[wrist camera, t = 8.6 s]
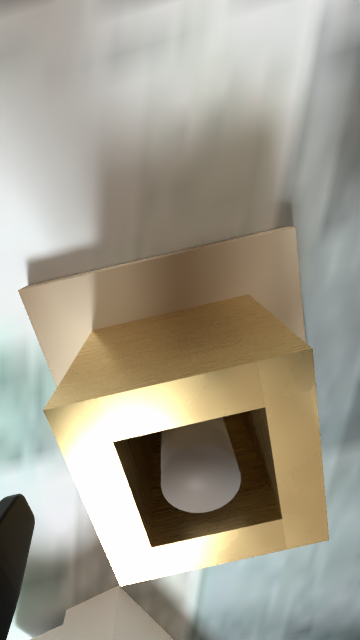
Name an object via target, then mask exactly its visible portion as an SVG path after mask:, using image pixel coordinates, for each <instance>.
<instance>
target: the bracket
mask: <svg viewBox="0 0 360 640" xmlns="http://www.w3.org/2000/svg"><path fill="white" fill-rule="evenodd" d="M31 640H174V639H173V638H172V637H171V636H170V635H169V634H168V633H167V632H166V631H165V630H164V629H163V628H161V627H160V626H159V625H158V624H157V623H156V622H155V621H154V620H153V619H152V618H151V617H150V616H149V615H148V614H147V613H146V612H145V611H144V610H143V609H142V608H141V607H140V606H139V605H138V604H137V603H136V602H135V601H134V600H133V599H132V598H131V597H130V596H129V595H128V594H127V593H126V592H125V591H124V590H123V589H122V588H121V587H120V586H119V585H118V586H116V587H114V588H112V589H110V590H108V591H105V592H103V593H101V594H99V595H97V596H95V597H93V598H90V599H88V600H86V601H84V602H82V603H80V604H78V605H76V606H73V607H71V608H69V609H67V610H66V614H65V618H64V623H63V625H61V626H59V627H57V628H54V629H52V630H50V631H48V632H46V633H44V634H42V635H39V636H37V637H35V638H33V639H31Z"/></svg>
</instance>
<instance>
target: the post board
mask: <svg viewBox="0 0 360 640" xmlns="http://www.w3.org/2000/svg"><path fill="white" fill-rule="evenodd" d="M18 291H19V294H20V296H21V299H22V301H23V304H24V306H25V309H26V311H27V314H28V316H29V319H30V321H31V324H32V326H33V329H34V331H35V334H36V336H37V339H38V341H39V344H40V346H41V349H42V351H43V354H44V356H45V359H46V361H47V363H48V366H49V368H50V371H51V373H52V376H53V378H54V381H55V383H56V386H57V387H58V385H59V384H60V382H61V380H62V379H63V377H64V376H65V374H66V372H67V371H68V369H69V367H70V366H71V364H72V362H73V361H74V359H75V358H76V356H77V354H78V353H79V351H80V349H81V348H82V346H83V344H84V343H85V341H86V340H87V338H88V336H89V335H90V333H91V331H92V330H96V329H100V328H105V327H109V326H113V325H118V324H122V323H126V322H131V321H135V320H139V319H144V318H148V317H152V316H157V315H161V314H165V313H170V312H174V311H178V310H182V309H187V308H191V307H195V306H200V305H204V304H208V303H213V302H217V301H221V300H226V299H230V298H234V297H239V296H243V295H247V294H249V295H250V296H252V297H253V298H254V299H255V300H256V301H257V302H259V303H260V304H261V305H262V306H263V307H264V308H266V309H267V310H268V311H269V312H270V313H271V314H273V315H274V316H275V317H276V318H277V319H278V320H280V321H281V322H282V323H283V324H284V325H285V326H287V327H288V328H289V329H290V330H291V331H292V332H294V333H295V334H296V335H297V336H298V337H299V338H301V339H302V340H303V341H304V342H305V343H306V341H305V330H304V318H303V307H302V295H301V284H300V272H299V261H298V250H297V238H296V227H287V226H286V227H282V228H278V229H273V230H269V231H264V232H260V233H256V234H251V235H247V236H243V237H238V238H234V239H229V240H225V241H221V242H216V243H212V244H207V245H203V246H199V247H194V248H190V249H186V250H181V251H177V252H172V253H168V254H164V255H159V256H155V257H151V258H146V259H142V260H137V261H133V262H129V263H124V264H120V265H115V266H111V267H107V268H102V269H98V270H94V271H89V272H85V273H80V274H76V275H72V276H67V277H63V278H58V279H54V280H50V281H45V282H41V283H37V284H32V285H28V286H26V287H24V288H22V289H20V290H18ZM240 483H241V474H240V470H239V467H238V464H237V461H236V458H235V454H234V451H233V448H232V445H231V442H230V439H229V435H228V432H227V429H226V426H225V423H224V419H223V417H220V418H215V419H211V420H206V421H202V422H198V423H193V424H189V425H184V426H180V427H176V428H171V429H167V430H162V431H161V489H162V493H163V495H164V497H165V498H166V500H167V501H168V502H169V503H170V504H171V505H173V506H174V507H176V508H178V509H180V510H183V511H186V512H191V513H204V512H209V511H213V510H216V509H218V508H220V507H222V506H224V505H226V504H227V503H228V502H229V501H231V500H232V499H233V498H234V496H235V495H236V493H237V492H238V490H239V487H240Z"/></svg>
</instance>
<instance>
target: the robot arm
mask: <svg viewBox="0 0 360 640" xmlns="http://www.w3.org/2000/svg"><path fill="white" fill-rule="evenodd" d="M34 525H35V519H34V515H33V513H32V511H31V509H30V507H29V505H28V503H27V501H26V499H25V497H24V496H23V495H22V494H16V495H11V496H7V497H5V498H3V499H2V500H1V501H0V640H6V638H7V635H8V632H9V629H10V625H11V622H12V619H13V615H14V612H15V609H16V605H17V602H18V598H19V594H20V590H21V586H22V582H23V577H24V572H25V568H26V563H27V558H28V554H29V549H30V544H31V539H32V535H33V530H34Z"/></svg>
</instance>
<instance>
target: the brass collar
mask: <svg viewBox="0 0 360 640" xmlns="http://www.w3.org/2000/svg"><path fill="white" fill-rule="evenodd" d="M43 411H44V413H45V415H46V418H47V420H48V422H49V425H50V427H51V429H52V431H53V434H54V436H55V438H56V441H57V443H58V445H59V447H60V450H61V452H62V454H63V456H64V459H65V461H66V463H67V466H68V468H69V470H70V472H71V475H72V477H73V479H74V482H75V484H76V486H77V488H78V491H79V493H80V495H81V498H82V500H83V502H84V504H85V507H86V509H87V511H88V514H89V516H90V518H91V520H92V523H93V525H94V527H95V529H96V532H97V534H98V536H99V539H100V541H101V543H102V545H103V548H104V550H105V552H106V555H107V557H108V559H109V561H110V564H111V566H112V568H113V571H114V573H115V575H116V577H117V580H118V582H119V584H120V586H124V585H128V584H133V583H137V582H142V581H146V580H151V579H155V578H160V577H164V576H169V575H173V574H178V573H182V572H187V571H191V570H196V569H200V568H205V567H210V566H214V565H219V564H223V563H228V562H232V561H237V560H241V559H246V558H250V557H255V556H259V555H264V554H268V553H273V552H277V551H282V550H286V549H291V548H295V547H300V546H305V545H309V544H314V543H318V542H323V541H327V540H329V534H328V522H327V510H326V499H325V487H324V476H323V464H322V452H321V441H320V429H319V418H318V406H317V394H316V383H315V371H314V360H313V349H312V348H311V347H310V346H309V345H308V344H306V343H305V342H304V341H303V340H302V339H301V338H299V337H298V336H297V335H296V334H295V333H294V332H292V331H291V330H290V329H289V328H288V327H287V326H285V325H284V324H283V323H282V322H281V321H280V320H278V319H277V318H276V317H275V316H274V315H273V314H271V313H270V312H269V311H268V310H267V309H266V308H264V307H263V306H262V305H261V304H260V303H259V302H257V301H256V300H255V299H254V298H253V297H252V296H250V295H249V294H247V295H243V296H239V297H234V298H230V299H226V300H221V301H217V302H213V303H208V304H204V305H200V306H195V307H191V308H187V309H182V310H178V311H174V312H170V313H165V314H161V315H157V316H152V317H148V318H144V319H139V320H135V321H131V322H126V323H122V324H118V325H113V326H109V327H105V328H100V329H96V330H92V331H91V333H90V335H89V336H88V338H87V340H86V341H85V343H84V344H83V346H82V348H81V349H80V351H79V353H78V354H77V356H76V358H75V359H74V361H73V362H72V364H71V366H70V367H69V369H68V371H67V372H66V374H65V376H64V377H63V379H62V380H61V382H60V384H59V385H58V387H57V389H56V390H55V392H54V394H53V395H52V397H51V399H50V400H49V402H48V403H47V405H46V407H45V408H44V410H43ZM220 417H223V419H224V423H225V426H226V429H227V432H228V435H229V439H230V442H231V445H232V448H233V451H234V454H235V458H236V461H237V464H238V467H239V470H240V474H241V483H240V487H239V490H238V492H237V493H236V495H235V496H234V498H233V499H232V500H231V501H229V502H228V503H227V504H226V505H224V506H222V507H220V508H218V509H216V510H213V511H209V512H204V513H191V512H186V511H183V510H180V509H178V508H176V507H174V506H173V505H171V504H170V503H169V502H168V501H167V500H166V498H165V497H164V495H163V493H162V489H161V431H162V430H167V429H171V428H176V427H180V426H184V425H189V424H193V423H198V422H202V421H206V420H211V419H215V418H220Z"/></svg>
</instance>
